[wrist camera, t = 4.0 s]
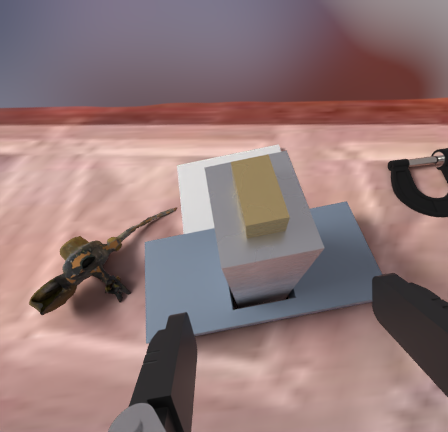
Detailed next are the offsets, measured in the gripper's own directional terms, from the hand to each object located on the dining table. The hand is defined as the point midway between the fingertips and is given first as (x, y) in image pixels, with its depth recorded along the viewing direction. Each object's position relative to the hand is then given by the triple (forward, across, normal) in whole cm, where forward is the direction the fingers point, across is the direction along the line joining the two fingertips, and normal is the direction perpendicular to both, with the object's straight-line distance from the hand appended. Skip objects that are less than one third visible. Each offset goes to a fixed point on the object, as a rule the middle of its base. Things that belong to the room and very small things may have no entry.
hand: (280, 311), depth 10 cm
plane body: (+11, 0, +5) cm, 12 cm away
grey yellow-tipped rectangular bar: (+11, 0, +5) cm, 12 cm away
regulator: (+14, +13, +2) cm, 19 cm away
